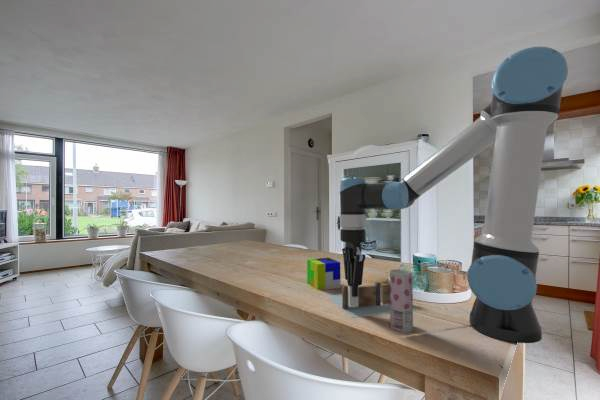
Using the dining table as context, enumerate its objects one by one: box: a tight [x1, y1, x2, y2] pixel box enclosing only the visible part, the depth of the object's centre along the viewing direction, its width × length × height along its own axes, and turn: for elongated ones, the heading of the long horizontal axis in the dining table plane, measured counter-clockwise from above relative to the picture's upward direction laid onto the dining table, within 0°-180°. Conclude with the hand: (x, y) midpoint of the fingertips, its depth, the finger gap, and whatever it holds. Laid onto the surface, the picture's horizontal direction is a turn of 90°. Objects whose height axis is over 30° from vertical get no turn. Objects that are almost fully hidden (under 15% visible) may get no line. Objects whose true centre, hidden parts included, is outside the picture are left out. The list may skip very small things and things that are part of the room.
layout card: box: [327, 293, 418, 319], centre depth 92 cm, size 20×22×1 cm
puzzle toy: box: [306, 257, 342, 291], centre depth 113 cm, size 10×10×10 cm
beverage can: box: [389, 268, 414, 333], centre depth 74 cm, size 6×6×15 cm
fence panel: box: [341, 281, 381, 309], centre depth 88 cm, size 13×2×7 cm, turn 106°
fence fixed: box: [380, 282, 390, 304], centre depth 91 cm, size 8×2×7 cm, turn 105°
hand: (353, 306), depth 84 cm, fingers closed
